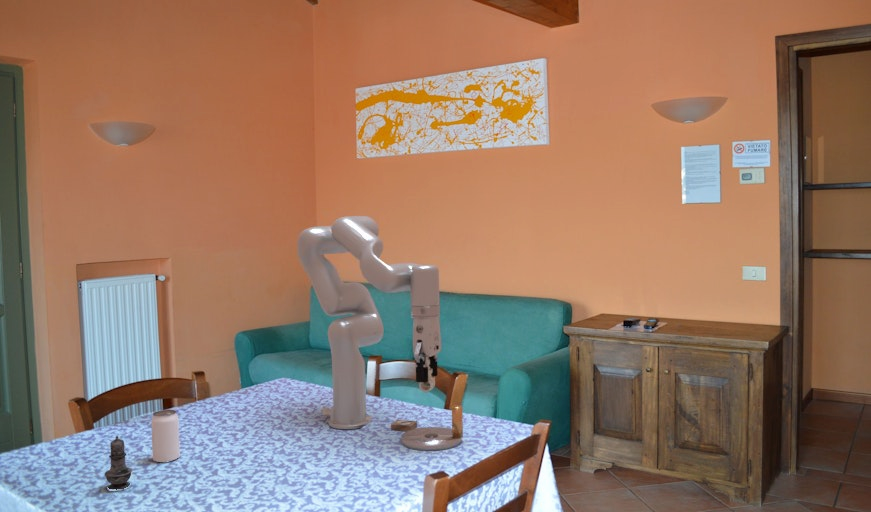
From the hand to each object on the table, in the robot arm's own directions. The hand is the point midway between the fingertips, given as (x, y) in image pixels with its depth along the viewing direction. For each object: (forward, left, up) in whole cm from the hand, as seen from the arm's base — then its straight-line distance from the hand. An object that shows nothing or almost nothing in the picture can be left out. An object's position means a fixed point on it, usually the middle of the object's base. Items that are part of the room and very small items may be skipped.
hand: (427, 378), depth 189 cm
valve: (0, 0, -4) cm, 4 cm away
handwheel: (+1, +1, -17) cm, 17 cm away
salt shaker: (-59, -46, -18) cm, 77 cm away
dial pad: (-10, +10, -18) cm, 23 cm away
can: (-61, -27, -18) cm, 70 cm away
